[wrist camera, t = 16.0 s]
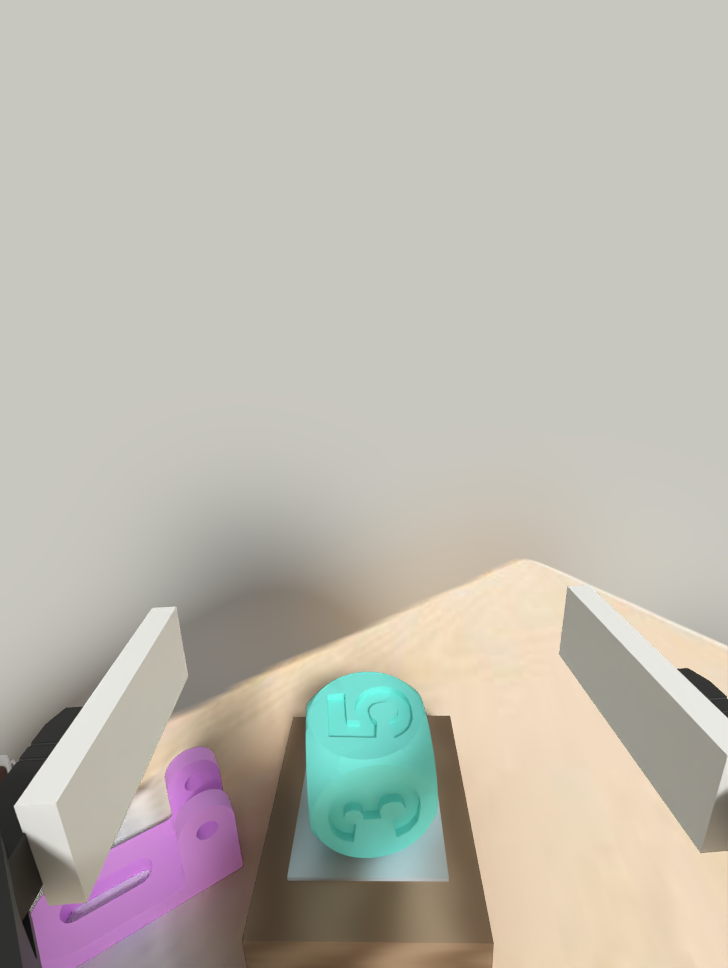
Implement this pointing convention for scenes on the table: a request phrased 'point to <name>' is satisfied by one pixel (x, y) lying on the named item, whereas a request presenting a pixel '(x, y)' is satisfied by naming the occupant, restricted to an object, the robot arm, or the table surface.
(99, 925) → the bracket
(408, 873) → the plinth
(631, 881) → the table surface
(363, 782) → the decorative dice
